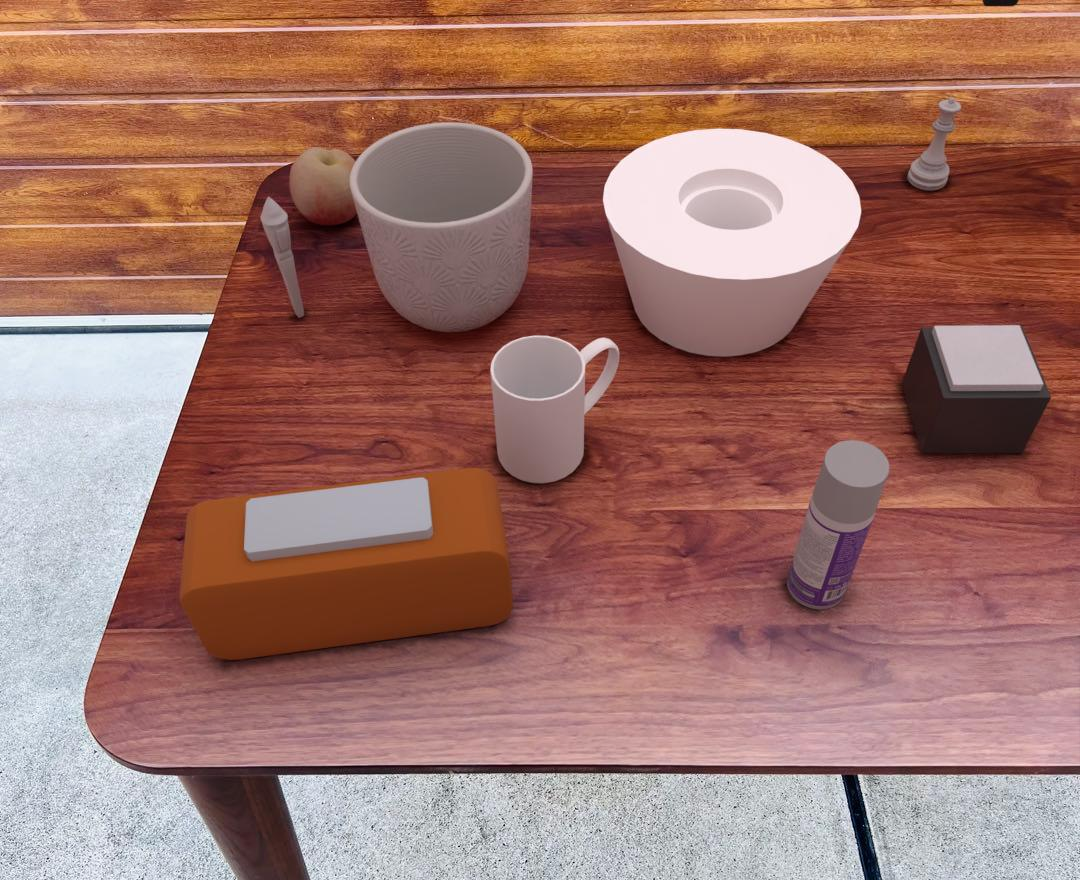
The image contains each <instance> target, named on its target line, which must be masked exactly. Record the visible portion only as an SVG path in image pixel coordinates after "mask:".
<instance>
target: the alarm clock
mask: <svg viewBox="0 0 1080 880" xmlns="http://www.w3.org/2000/svg"><path fill="white" fill-rule="evenodd" d="M185 521H186V522H185V531H184V542H183V543H184V544H183V553H182V554H183V555H182V565H181V576H180V587H179V603H180V605H181V608H182V609H183V611H184V614H185V615H186V616H187V619H188V621H189V622H190V624H191V625H192V627H193V630H194V631H195V633H196V634H197V637H198V638H199V640H200V642H201V644H202V645H203V647H204V650H205V651H207V652H208V653H209V655H211V656H213V657H215V658H217V659H222V660H227V661H231V660H232V661H234V660H235V661H236V660H237V661H238V660H245V659H252V658H260V657H267V656H274V655H281V654H282V655H283V654H289V653H296V652H305V651H311V650H319V649H328V648H335V647H342V646H349V645H350V646H351V645H356V644H364V643H372V642H379V641H386V640H393V639H400V638H409V637H415V636H416V637H417V636H423V635H431V634H439V633H447V632H454V631H462V630H467V629H475V628H483V627H489V626H494V625H498V624H501V623H502V622H504V621H506V620H507V619H508V618H509V617H510V616H511V614H512V612H513V609H514V598H513V586H512V575H511V573H512V572H511V564H510V555H509V548H508V541H507V536H506V530H505V524H504V517H503V510H502V503H501V497H500V489H499V485H498V481H497V480H496V477H495V476H494V475H493V474H492V473H490V472H489V471H488V470H486V469H482V468H479V467H466V468H465V467H464V468H458V469H448V470H442V471H441V470H440V471H434V472H433V471H432V472H426V473H418V474H417V473H416V474H409V475H401V476H393V477H385V478H375V479H369V480H361V481H360V480H359V481H351V482H344V483H336V484H328V485H321V486H312V487H304V488H297V489H296V488H295V489H288V490H280V491H271V492H264V493H256V494H248V495H247V494H246V495H240V496H231V497H230V496H229V497H223V498H215V499H208V500H204V501H200V502H197V503H196V504H195V505H193V506H191V508H190V509H189V511H188V513H187V515H186V520H185Z"/></svg>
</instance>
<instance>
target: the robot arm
mask: <svg viewBox="0 0 1080 880" xmlns="http://www.w3.org/2000/svg"><path fill="white" fill-rule="evenodd" d="M981 2H982V4H983V6H985V7H1015V6H1017V4H1018V3H1019V0H982V1H981Z"/></svg>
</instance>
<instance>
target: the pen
mask: <svg viewBox="0 0 1080 880" xmlns="http://www.w3.org/2000/svg"><path fill="white" fill-rule="evenodd" d="M288 218H289V216H288V213H287V211H285V210H284V209H283V208H282V207H281V206H280V205H279V204H278V203H277V202H276V201H275V200H274V199H273V198H271V197H270V196H267V198H266V200H265V203H264V204H263V208H262V212H261V214H260V217H259V219H260V221H261V224H262V227H263V230H264V233H265V236H266V238H267V240H268V243H269V244H270V246H271V247H272V250H273V251H272V252H273V254H274V258H275V260H276V264H277V265H278V266H277V267H278V269H279V272H280V273H281V276H282V279H283V283H284V285H285V288H286V291H287V294H288V297H289V300H290V303H291V307H292V309H293V311H294V314H295V315H296V317H297V318H298V319H301V318H303V317H304V316H305V310H304V304H303V300H302V295H301V290H300V287H299V281H298V275H297V269H296V264H295V258H294V254H293V251H292V241H291V231H290V224H289V221H288Z"/></svg>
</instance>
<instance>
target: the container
mask: <svg viewBox="0 0 1080 880" xmlns="http://www.w3.org/2000/svg"><path fill="white" fill-rule="evenodd" d="M889 474H890V462H889V460H888V457H887V456H886V455H885V453H884V452H883V451H882V450H880V448H878V447H877V446H875V445H873V444H871V443H869V442H866V441H862V440H856V439H852V440H851V439H849V440H842V441H839V442H837V443H834V444H833V445H831V446H830V447H829V448H828V449H827V451H826V453H825V455H824V458H823V462H822V464H821V467H820V470H819V473H818V476H817V479H816V481H815V484H814V488H813V491H812V493H811V497H810V499H809V503H808V506H807V510H806V514H805V516H804V520H803V524H802V526H801V529H800V533H799V536H798V537H799V538H798V541H797V544H796V547H795V551H794V553H793V554H794V555H793V557H792V561H791V564H790V568H789V571H788V576H787V580H786V586H787V590H788V592H789V594H790V595H791V597H792V598H793V599H794V600H795V601H796V602H797V603H799V604H800V605H802V606H804V607H806V608H809V609H813V610H828V609H831V608H833V607H835V606H837V605H838V604H839V603H841V602H842V600H843V598H844V597H845V594H846V592H847V589H848V586H849V584H850V581H851V579H852V576H853V574H854V571H855V568H856V565H857V563H858V560H859V558H860V555H861V552H862V550H863V547H864V544H865V542H866V539H867V537H868V534H869V532H870V529H871V526H872V524H873V521H874V518H875V515H876V512H877V509H878V506H879V503H880V500H881V497H882V495H883V492H884V488H885V485H886V482H887V479H888V476H889Z"/></svg>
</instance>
